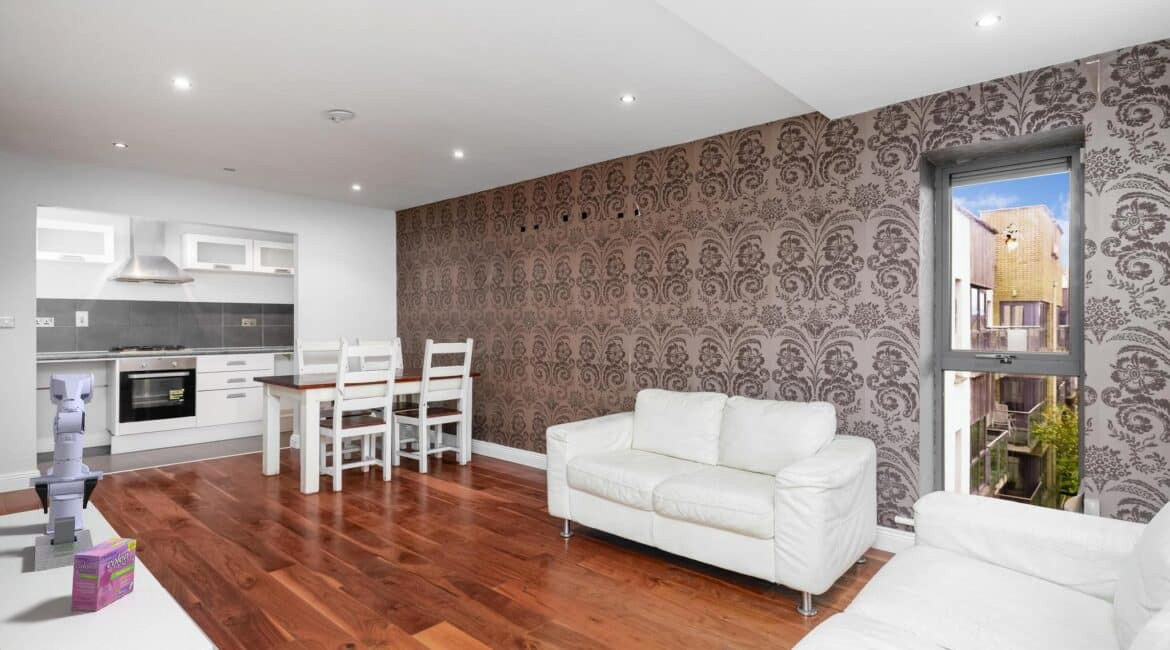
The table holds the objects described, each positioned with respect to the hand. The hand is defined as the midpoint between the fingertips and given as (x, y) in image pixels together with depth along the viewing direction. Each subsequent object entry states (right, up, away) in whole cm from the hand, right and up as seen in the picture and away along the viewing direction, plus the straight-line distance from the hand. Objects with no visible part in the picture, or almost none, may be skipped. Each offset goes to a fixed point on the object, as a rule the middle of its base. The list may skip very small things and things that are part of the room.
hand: (65, 510), depth 159 cm
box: (+30, -12, -26) cm, 42 cm away
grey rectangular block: (-1, -10, 0) cm, 10 cm away
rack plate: (+1, -10, -2) cm, 11 cm away
